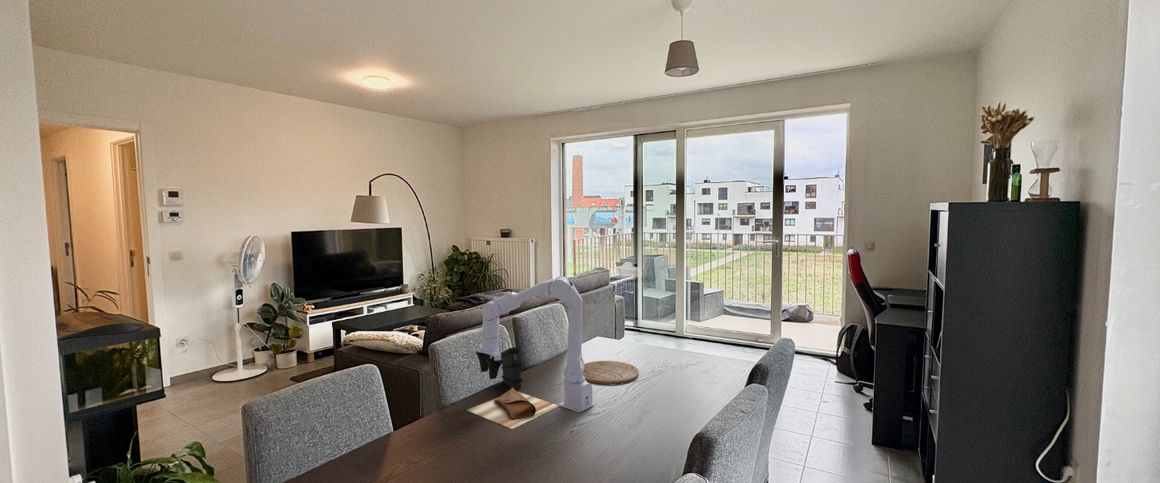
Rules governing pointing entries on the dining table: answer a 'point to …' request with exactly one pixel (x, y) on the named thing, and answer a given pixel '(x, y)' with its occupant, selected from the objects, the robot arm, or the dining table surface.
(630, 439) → the dining table surface
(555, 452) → the dining table surface
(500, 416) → the beige flat square sheet
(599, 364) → the trivet
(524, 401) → the sunglasses case
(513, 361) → the black angular block
